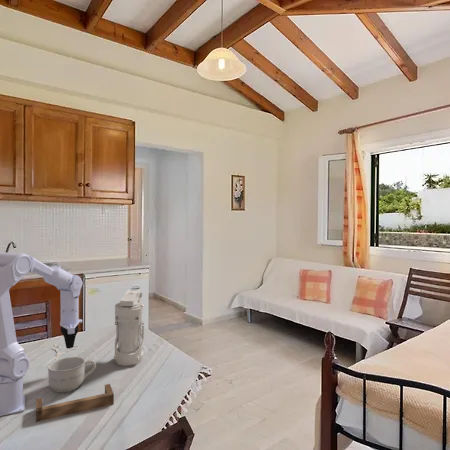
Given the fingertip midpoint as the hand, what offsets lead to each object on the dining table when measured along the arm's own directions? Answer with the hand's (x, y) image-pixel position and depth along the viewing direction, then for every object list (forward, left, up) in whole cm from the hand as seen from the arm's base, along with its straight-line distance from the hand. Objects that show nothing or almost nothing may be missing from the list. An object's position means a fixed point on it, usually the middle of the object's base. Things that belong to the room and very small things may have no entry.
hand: (69, 347), depth 123 cm
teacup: (0, -12, -8) cm, 15 cm away
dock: (0, -24, -8) cm, 26 cm away
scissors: (-3, +15, -9) cm, 18 cm away
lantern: (+21, +1, -8) cm, 23 cm away
